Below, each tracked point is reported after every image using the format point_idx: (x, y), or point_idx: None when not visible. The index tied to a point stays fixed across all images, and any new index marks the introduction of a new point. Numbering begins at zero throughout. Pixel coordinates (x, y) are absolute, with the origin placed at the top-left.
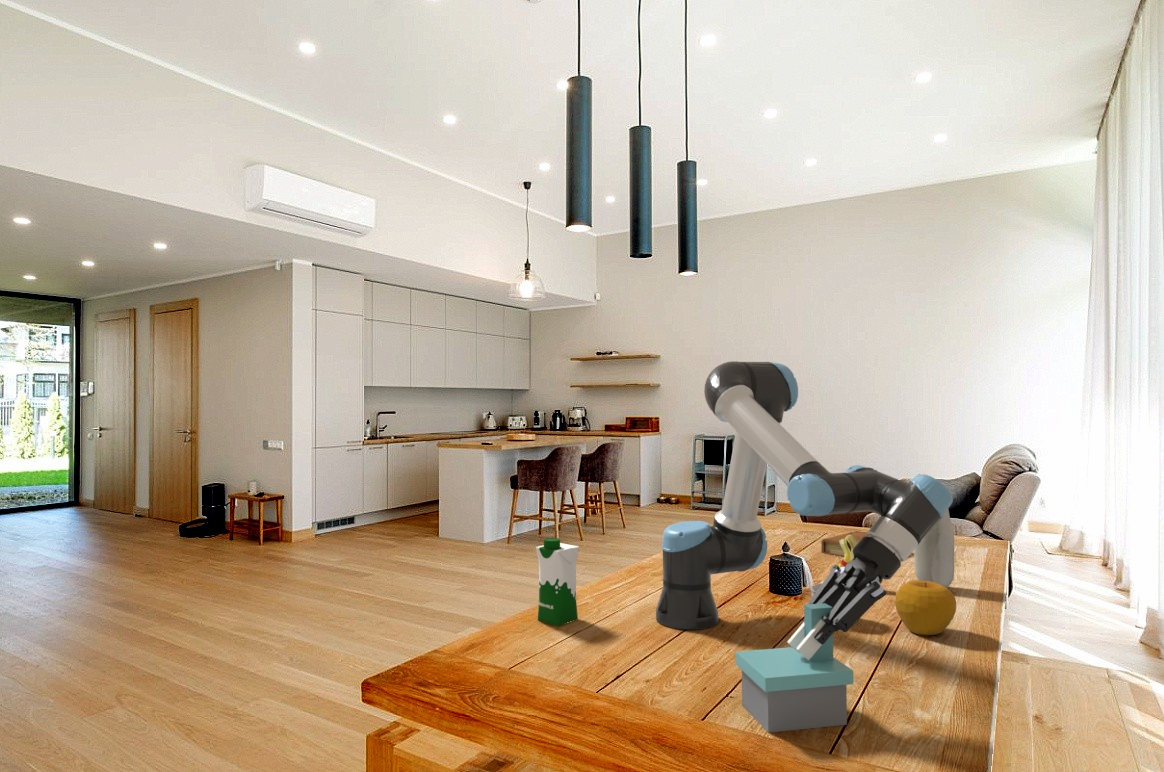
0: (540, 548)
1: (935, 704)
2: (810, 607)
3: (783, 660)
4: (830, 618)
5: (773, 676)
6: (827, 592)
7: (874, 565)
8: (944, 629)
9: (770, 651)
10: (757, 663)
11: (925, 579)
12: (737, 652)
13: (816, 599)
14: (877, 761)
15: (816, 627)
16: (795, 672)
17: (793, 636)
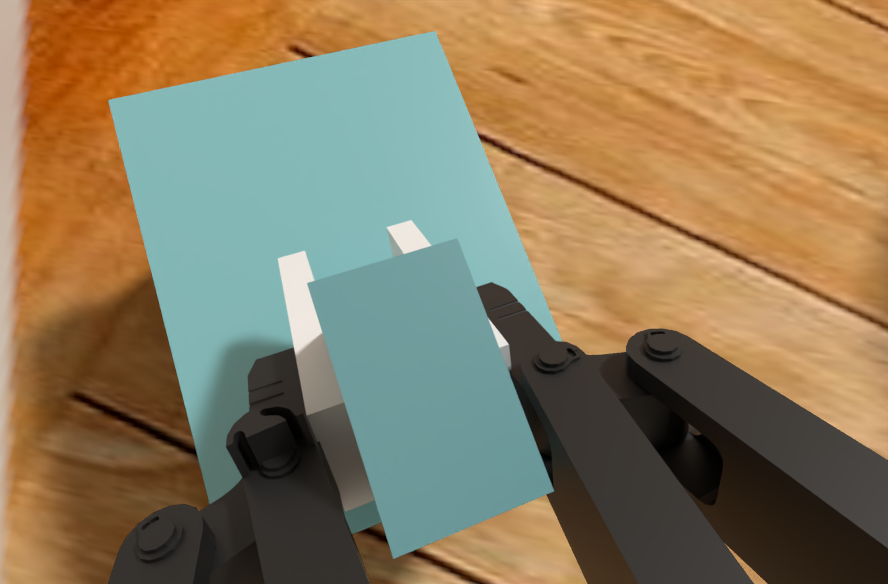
0: None
1: None
2: (359, 283)
3: (348, 222)
4: (252, 487)
5: (129, 138)
6: (735, 568)
7: None
8: None
9: (463, 181)
10: (295, 98)
11: None
12: (427, 38)
13: (700, 418)
14: (8, 556)
15: (303, 359)
16: (186, 250)
17: (410, 243)
